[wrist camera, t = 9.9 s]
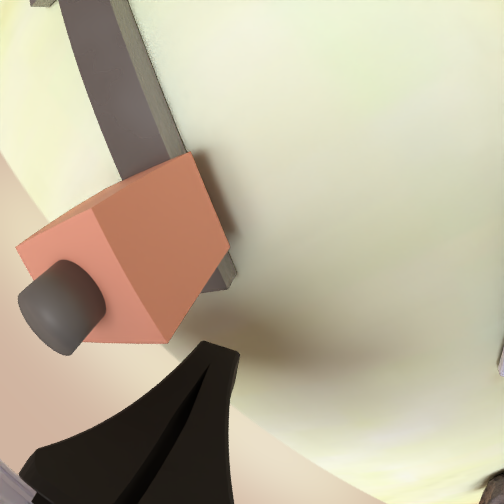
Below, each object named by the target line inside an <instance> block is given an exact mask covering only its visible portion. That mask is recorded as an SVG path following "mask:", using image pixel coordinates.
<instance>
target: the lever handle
mask: <svg viewBox="0 0 504 504" xmlns="http://www.w3.org/2000/svg"><path fill="white" fill-rule="evenodd" d="M229 248H230V245H229V243H228V240H227V238H226V236H225V233H224V231H223V229H222V226H221V224H220V221H219V219H218V217H217V214H216V212H215V209H214V207H213V205H212V202H211V200H210V197H209V195H208V193H207V190H206V188H205V185H204V183H203V180H202V178H201V176H200V173H199V171H198V168H197V166H196V163H195V161H194V158H193V156H192V154H191V151H190V152H187V153H185V154H182V155H180V156H177V157H175V158H173V159H170V160H168V161H165V162H163V163H161V164H158V165H156V166H154V167H151V168H149V169H147V170H145V171H142V172H140V173H138V174H136V175H133V176H131V177H129V178H127V179H125V180H123V181H121V182H118V183H116V184H114V185H112V186H110V187H108V188H106V189H104V190H102V191H101V192H99V193H97V194H96V195H94V196H92V197H91V198H89V199H87V200H86V201H84V202H82V203H81V204H79V205H77V206H76V207H74V208H73V209H71V210H69V211H68V212H66V213H65V214H63V215H61V216H60V217H58V218H57V219H55V220H54V221H52V222H51V223H49V224H48V225H46V226H45V227H43V228H42V229H40V230H39V231H37V232H36V233H34V234H33V235H32V236H30V237H29V238H28V239H26V240H25V241H23V242H22V243H20V244H19V245H18V246H16V249H17V251H18V253H19V255H20V257H21V259H22V261H23V262H24V264H25V266H26V268H27V269H28V271H29V273H30V275H31V276H32V278H33V280H34V281H33V282H32V283H31V284H30V285H29V286H27V287H26V288H25V289H24V290H23V291H22V292H21V293H20V294H19V296H18V304H19V307H20V310H21V313H22V315H23V316H24V318H25V320H26V322H27V323H28V325H29V326H30V328H31V329H32V330H33V332H34V333H35V334H36V335H37V336H38V337H39V338H40V339H41V340H42V341H43V342H44V343H45V344H46V345H47V346H49V347H50V348H51V349H53V350H54V351H56V352H58V353H59V354H62V355H66V356H69V355H71V354H72V353H73V352H74V351H75V350H76V348H77V347H78V346H79V345H80V344H81V343H82V342H95V343H134V344H135V343H136V344H140V343H141V344H168V342H169V340H170V339H171V337H172V336H173V334H174V333H175V331H176V329H177V328H178V326H179V325H180V323H181V322H182V320H183V319H184V317H185V315H186V314H187V312H188V311H189V309H190V308H191V306H192V305H193V303H194V302H195V300H196V298H197V297H198V295H199V294H200V292H201V291H202V289H203V288H204V286H205V285H206V283H207V282H208V280H209V278H210V277H211V275H212V274H213V272H214V271H215V269H216V268H217V266H218V265H219V263H220V262H221V260H222V259H223V257H224V256H225V254H226V253H227V251H228V250H229Z"/></svg>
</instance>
